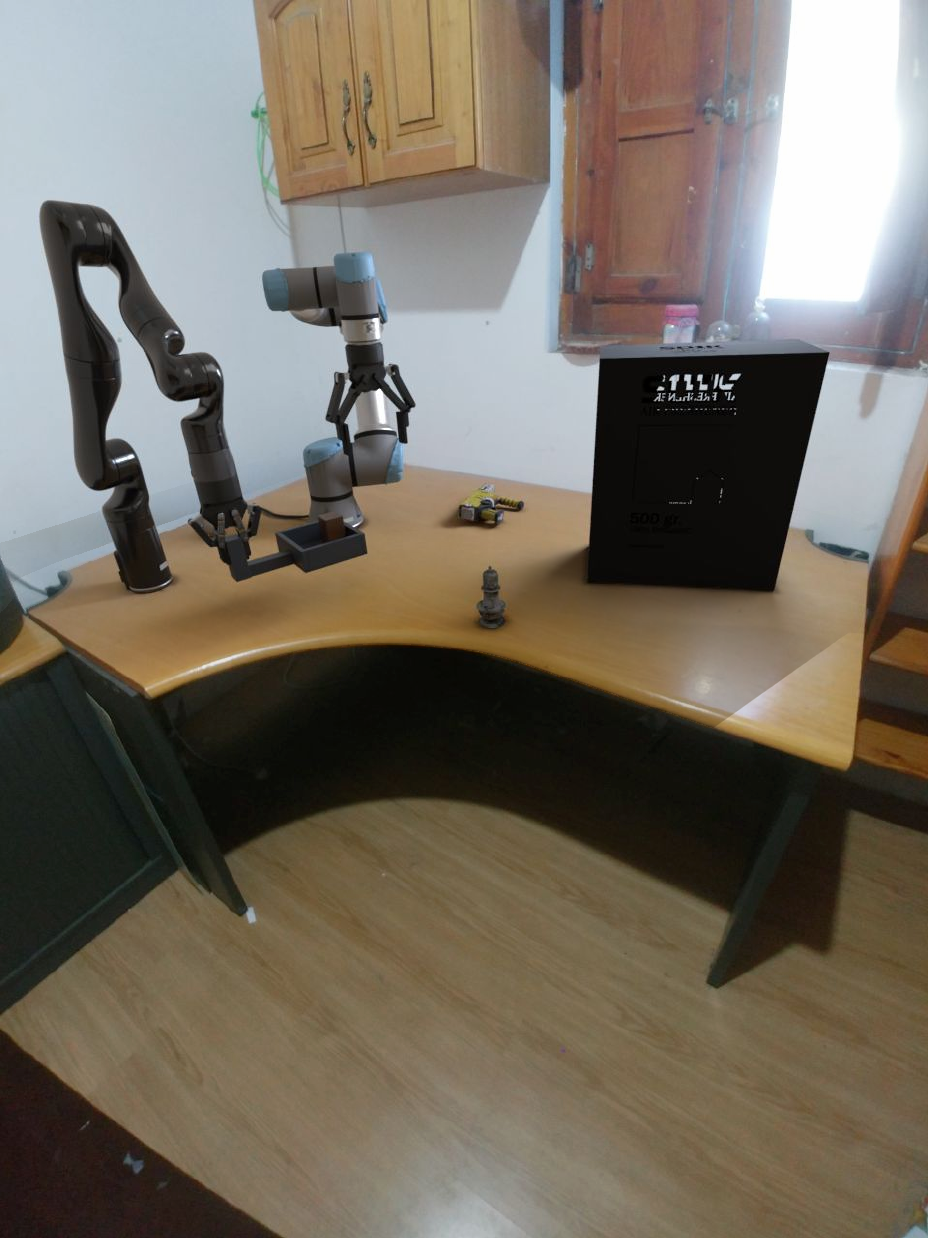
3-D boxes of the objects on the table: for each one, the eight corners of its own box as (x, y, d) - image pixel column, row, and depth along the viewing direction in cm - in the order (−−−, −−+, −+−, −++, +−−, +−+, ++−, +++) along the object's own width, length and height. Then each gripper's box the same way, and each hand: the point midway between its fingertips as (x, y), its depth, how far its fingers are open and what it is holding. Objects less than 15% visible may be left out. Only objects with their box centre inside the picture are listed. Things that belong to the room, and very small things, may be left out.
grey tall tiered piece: (504, 629, 116) (503, 573, 110) (474, 627, 117) (471, 571, 111) (508, 614, 120) (507, 559, 114) (479, 612, 122) (477, 558, 116)
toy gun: (532, 488, 178) (484, 481, 182) (510, 513, 158) (457, 504, 162) (530, 504, 181) (483, 496, 185) (509, 529, 161) (456, 520, 165)
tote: (246, 592, 113) (235, 550, 109) (223, 568, 123) (212, 529, 119) (367, 553, 126) (362, 515, 122) (337, 535, 136) (332, 498, 132)
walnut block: (322, 546, 129) (317, 515, 126) (339, 541, 131) (334, 511, 128) (330, 552, 127) (325, 520, 123) (347, 547, 129) (343, 515, 125)
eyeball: (213, 540, 164) (207, 519, 161) (198, 536, 167) (192, 516, 164) (231, 532, 168) (225, 512, 165) (216, 529, 171) (211, 509, 168)
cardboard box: (754, 550, 140) (797, 339, 118) (774, 590, 123) (829, 352, 101) (589, 545, 148) (601, 345, 125) (586, 582, 131) (599, 358, 108)
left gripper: (179, 487, 103) (206, 578, 111) (259, 469, 110) (279, 556, 118) (169, 477, 108) (195, 565, 117) (246, 461, 115) (265, 545, 124)
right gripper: (312, 351, 112) (331, 464, 123) (426, 336, 124) (433, 440, 135) (297, 348, 117) (316, 456, 128) (407, 334, 129) (416, 434, 140)
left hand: (237, 560), depth 117 cm, fingers closed on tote, 3 cm apart
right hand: (376, 448), depth 132 cm, fingers open, 13 cm apart
